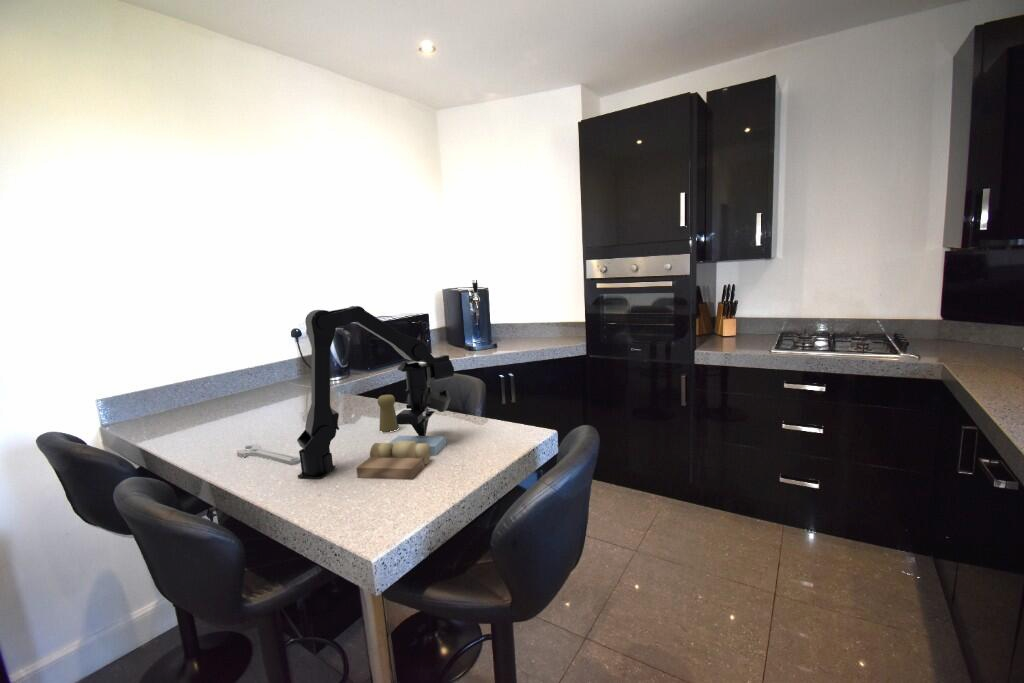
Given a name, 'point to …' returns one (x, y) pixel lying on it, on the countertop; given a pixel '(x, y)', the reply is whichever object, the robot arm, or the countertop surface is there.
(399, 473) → the wooden tray with rolls
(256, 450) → the adjustable wrench
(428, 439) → the light blue block
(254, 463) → the countertop surface
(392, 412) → the cork
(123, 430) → the countertop surface
